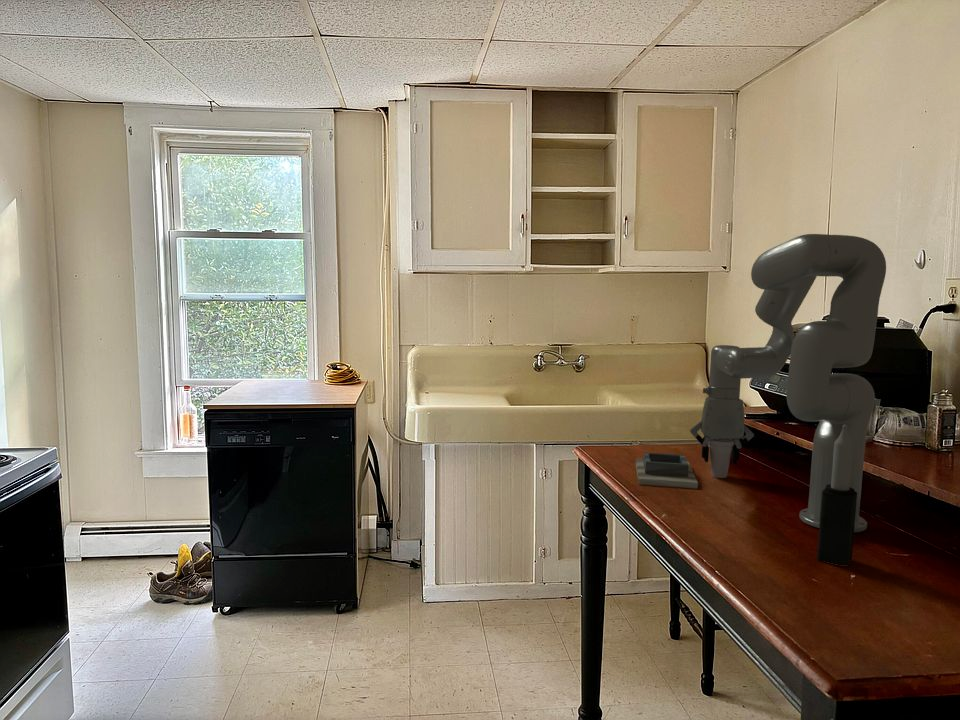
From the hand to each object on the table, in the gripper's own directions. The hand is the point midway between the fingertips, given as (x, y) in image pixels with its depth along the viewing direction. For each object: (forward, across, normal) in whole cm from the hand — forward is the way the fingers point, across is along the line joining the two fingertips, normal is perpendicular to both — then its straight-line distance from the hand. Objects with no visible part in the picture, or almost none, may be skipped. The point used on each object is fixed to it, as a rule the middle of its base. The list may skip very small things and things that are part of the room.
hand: (719, 461), depth 175 cm
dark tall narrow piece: (+4, +12, -52) cm, 54 cm away
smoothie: (+4, 0, 0) cm, 4 cm away
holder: (+4, -14, -3) cm, 15 cm away
